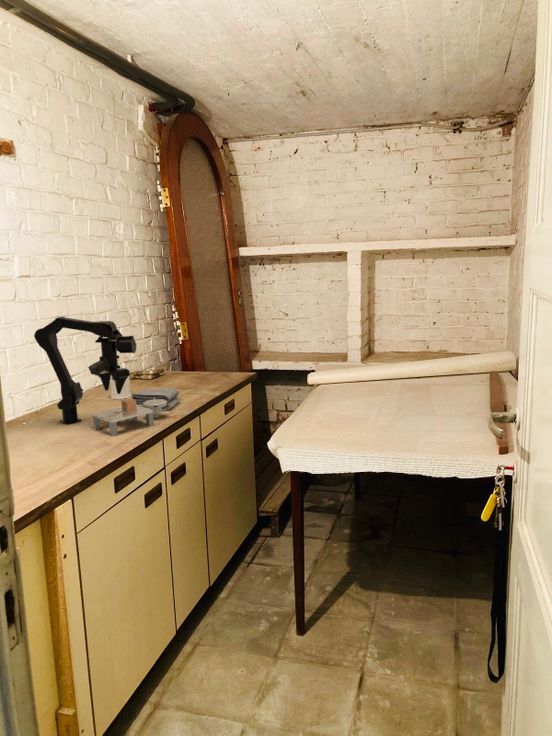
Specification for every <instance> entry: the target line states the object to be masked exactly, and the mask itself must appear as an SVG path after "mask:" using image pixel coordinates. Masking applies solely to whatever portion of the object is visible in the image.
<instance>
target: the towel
mask: <svg viewBox="0 0 552 736" xmlns="http://www.w3.org/2000/svg"><path fill="white" fill-rule="evenodd" d="M178 395H180V391H179V390H178V389H176V388H172V387H164V388H156V389H143V390H141V391H140V392H137V393H136V392H133V393H131V399H134V400H136V405H138V406H141V407H143V403H144V402H145V401H148V400H154V398H155V399H161V400H162V399H163V400H166V401H167V405H166V406H164V407H161V410H162V412H165V411H169V410H171V408H173V407H175V406H176V405H177V404H179V402H180V398H179V397H178ZM144 408H145V407H144ZM148 409H149V408H148Z"/></svg>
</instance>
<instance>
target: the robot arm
mask: <svg viewBox="0 0 552 736" xmlns="http://www.w3.org/2000/svg"><path fill="white" fill-rule="evenodd" d="M63 329H69V330H70V329H71V330H76V331H82V332H83V331H84V332H89V333H92V334H94V335H96V336H98V337H97V339H96V340H95V341H94V342H95V344H96V343H97V344H98V343H100V348H101V355H100V357H99V360H98V361H96V362H94V363H91V365H89V366H88V370H89V372H90V375H93V376H97V377H99V380H100V381H101V384H102V386H103V388H104V390H105V391H109V389H110V388H109V386H110V385H111V383H110V377H111V376H112V377H113V378H112V379H113V380H114V381H115V385H116V390H117V394H120V393H121V390H122V388H123V385H124V383H125V381H126V379H127V378H128V376H129V377H130V376H131V371H130V370H129V369H128V368H126V367H121V368H120V366H119V365H118V360H117V358H119V356H120V354H135V353H136V352H137V343H136V339H135V337H134V335H123V334H122V333H121V332H120V331H119V329H118V328H117V325H116V323H115V322H114V321H111V320H101V321H99V320H98V321H91V320H83V319H77V318H72V317H66V316H58V317H56V318H55V319H54V320H53V321H51V322H49V323H48V324H46V325H45V326H44V327H42V328H38V329H37V330H35V332H34V335H33V336H34V340H35V341H36V342H37V344H38V345H39V347H40V348H41V349H42V350H43V351H45V353H46V355H47V357H48V360H49V362H50V364H51V367H52V368H53V370H54V372H55V375H56V377H57V379H58V382H59V384H60V395H61V398H62V399H61V400H60V401H59V402H58V403H57V404H56V405H57V407H58V410H61V413H62V414H61V415H62V419H60V420H59V422H60V423H63V424H65V425H70V424H74V423H77V422H78V423H79V422H82V421H81V420H82V419H81V418H79V415H78V408H77V406H78V405H79V404H80V401H81V400H82V399H83V396H84V389H83V388H82V386H81V383H80V382H79V381H77V382H76V381H74V379H73V378H72V375H71V373H70V372H69V369H68V367H67V365H66V362H65V360H64V358H63V356H62V354H61V351H60V349H59V346H58V336H57V334H59V333H60V332H61V331H62V330H63ZM118 352H119V354H118ZM119 368H120V369H119ZM73 422H74V423H73ZM69 423H70V424H69Z"/></svg>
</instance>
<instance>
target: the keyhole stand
mask: <svg viewBox="0 0 552 736" xmlns="http://www.w3.org/2000/svg"><path fill="white" fill-rule="evenodd" d="M136 408H137V410H135V411H131V412H125V411H122V406H120V407H115V408H110V409H107V410H102V411H99V412H94V413H92V422H93V423H92V425H93V429H94V428H95V429H94V430H96V429H97V430H100V429H99V428H101V429H102V423H101V420H102V421H105V422H108V428H109V429H108V430H109V431H108V432H109V435H110V436H111V435H112V437H113V435H114V436H117V435H118V424H117V423H118V422H120V421H126V420H125V419H129V418H133V417H137V418H138V417H140V416H144V415H145V420H146V426H148V425H151V426H154V425H155V422H154V421H155V420H154V419H155V418H153V410H151V409H148V408H144V407H141V406H138V405H136ZM112 415H113V416H112ZM133 421H136V420H135V419H134V420H133ZM153 424H154V425H153Z"/></svg>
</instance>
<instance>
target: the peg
mask: <svg viewBox="0 0 552 736" xmlns="http://www.w3.org/2000/svg"><path fill="white" fill-rule="evenodd" d="M120 401H121V407H122V411H125V412H131V411H135V410H137V408H136V400H134V399H132V398H126V399H120ZM134 419H137V420H138V416H137V417H133V418H129V419H125V420H124V421H128V422H130V421H135V420H134Z"/></svg>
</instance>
